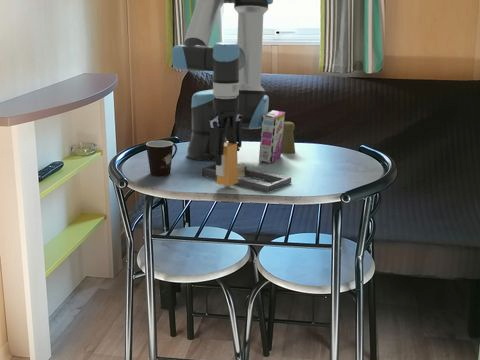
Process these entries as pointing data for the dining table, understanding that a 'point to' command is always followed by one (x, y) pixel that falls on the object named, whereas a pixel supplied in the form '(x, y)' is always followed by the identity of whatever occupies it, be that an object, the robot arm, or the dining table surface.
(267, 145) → the candy bar box
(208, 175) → the frame
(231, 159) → the orange rectangular block
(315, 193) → the dining table surface
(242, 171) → the tan wooden cube
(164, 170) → the coffee mug
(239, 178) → the grey flat rectangular tray
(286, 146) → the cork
